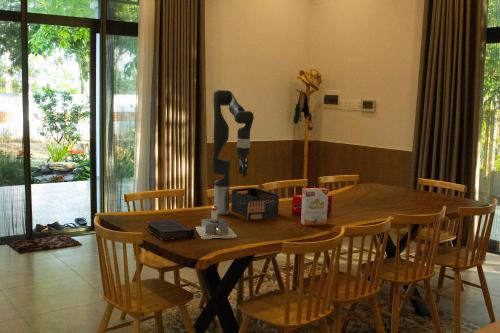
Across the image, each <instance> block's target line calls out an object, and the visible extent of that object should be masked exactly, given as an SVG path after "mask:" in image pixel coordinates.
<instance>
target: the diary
mask: <svg viewBox="0 0 500 333" xmlns="http://www.w3.org/2000/svg"><path fill="white" fill-rule="evenodd" d="M145 223H146V224H147V227H145V230H146V229H149V230H150V231H151V232H153V233H154V234H156V235H157V236H159V237H160V238H162V239H171V238H178V239H182V237H185V238H189V237H192V238H194V236H195V230H194V229H193V228H191V227H189V226H187V225H186V224H184V223H182V222H180V221H178V220H177V219H159V220H149V221H146V222H145ZM157 236H156V237H157Z"/></svg>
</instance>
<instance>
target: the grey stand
mask: <svg viewBox="0 0 500 333" xmlns="http://www.w3.org/2000/svg"><path fill="white" fill-rule="evenodd" d="M195 228H196V229H195V230H196V232H197V233H198V236H201V237H200V238H201V239H202V240H213V239H212V238H222V239H237V238H238V237H237V236H238V235H237V234H236V233H235V232H234V230H233V229H231V227H230V226H229V223H228V222H227V221H226V220H225V219H224V218H217V222H213V223H211V218H203V219H202V218H201V226H200V225H199V226H195Z"/></svg>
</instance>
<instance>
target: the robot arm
mask: <svg viewBox="0 0 500 333" xmlns="http://www.w3.org/2000/svg"><path fill="white" fill-rule="evenodd" d="M212 99H213V102H212V103H213V115H214V116H213V117H214V118H213V152H212V154H213V155H212V167H211V168H212V169H211V170H212V173H213V175H216V176H217V175H220V176H223V177H222V178H219V179H217V180H215V181H214V186H213V187H214V193H213V194H214V195H213V196H214V197H213V198H214V199H213V200H214V203H213V204H214V205H213V206H218V213H217V215H228V214H229V213H230V181H231V180H230V178H231V166H232V165H231V161H230V160H229V159H220V158H219V157H220V155H221V151H222V150H223V148H224V147H225V146H226V144H227V142H228V141H229V138H230V127H229V125H228V123H227V121H226V119H225V117H224V116H223V112H222V107H223V106H228V111H229V112H230V114H231V115H232V116H233V117H234V121H235V123H237V124H240V125H243V124H244V126H243V127H239V128H238V129H237V140H236V141H237V142H236V155H237V158H238V160H237V165H238V173H239V174H240V175H242V177H247V175H248V174H247V173H248V169H249V158H248V157H247V156H250V155H251V130H252V126H253V122H254V119H255V118H254V117H255V115H254V113H253V112H252V111H250V110H245V108H244V107H243V106H242V105H241V104H239V102H238V101H237V98H236V97H235V95H234V94H233V93H232V91H230V90H227V89H216V90H214V93H213V98H212Z"/></svg>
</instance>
